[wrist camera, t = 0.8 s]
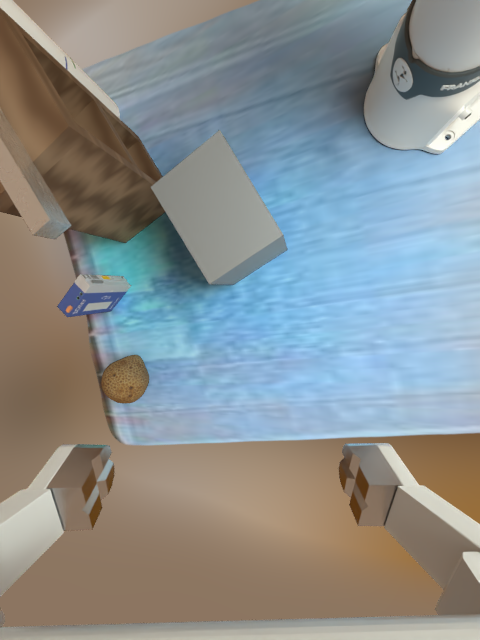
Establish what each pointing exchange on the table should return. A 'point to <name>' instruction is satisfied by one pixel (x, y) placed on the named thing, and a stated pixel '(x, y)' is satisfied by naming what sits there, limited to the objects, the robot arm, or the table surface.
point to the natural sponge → (125, 379)
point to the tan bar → (28, 186)
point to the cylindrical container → (56, 52)
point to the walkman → (93, 294)
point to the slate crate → (219, 213)
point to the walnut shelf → (74, 142)
